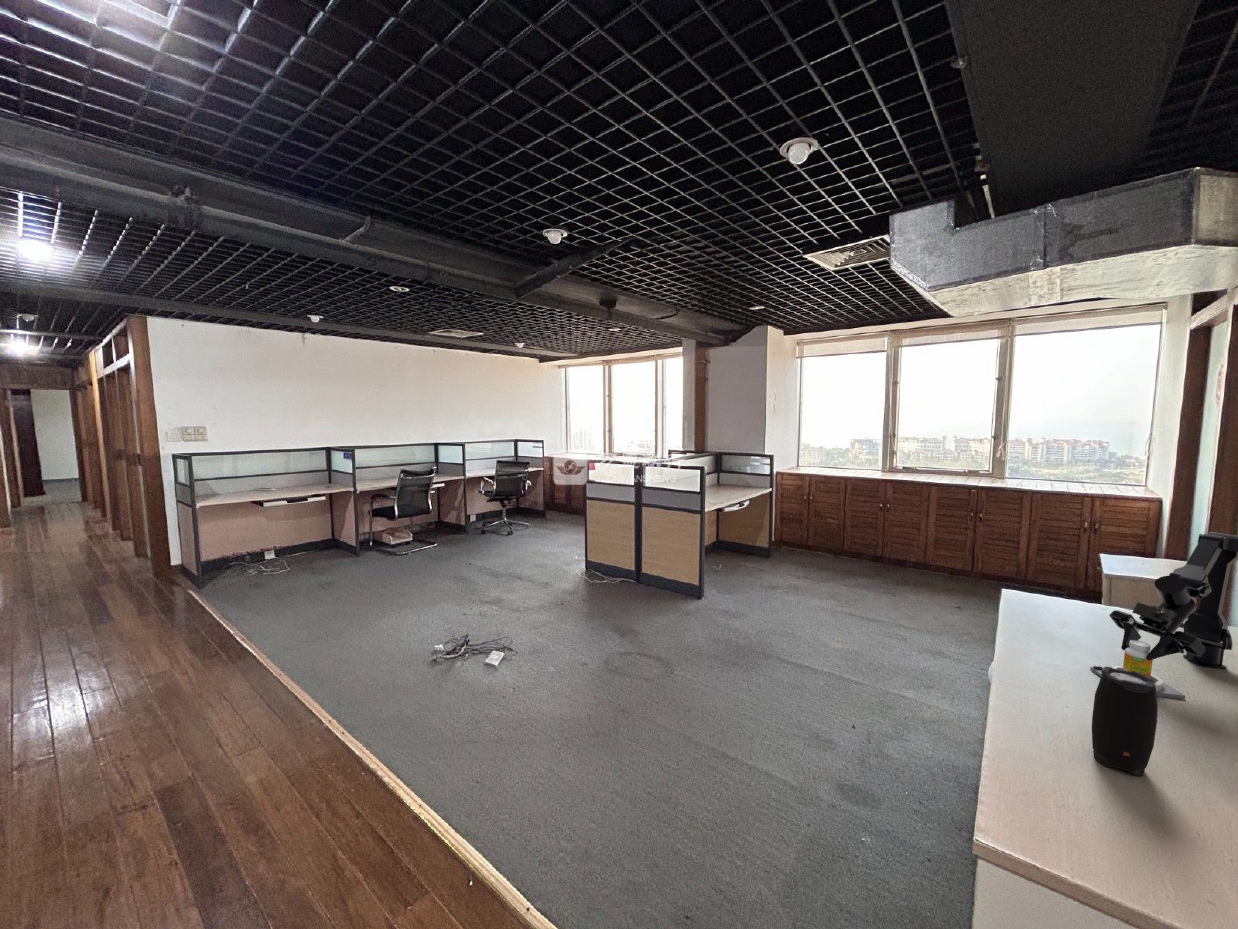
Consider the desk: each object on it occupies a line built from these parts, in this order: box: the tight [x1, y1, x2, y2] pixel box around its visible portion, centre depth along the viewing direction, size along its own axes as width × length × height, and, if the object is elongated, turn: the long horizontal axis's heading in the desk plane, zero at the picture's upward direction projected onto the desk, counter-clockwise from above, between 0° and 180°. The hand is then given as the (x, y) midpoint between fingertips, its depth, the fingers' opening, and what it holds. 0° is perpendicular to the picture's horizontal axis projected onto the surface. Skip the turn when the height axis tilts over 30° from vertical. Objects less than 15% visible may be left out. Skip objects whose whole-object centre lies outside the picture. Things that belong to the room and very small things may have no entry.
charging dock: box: [1089, 665, 1186, 700], centre depth 138 cm, size 14×12×2 cm
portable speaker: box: [1091, 666, 1159, 777], centre depth 104 cm, size 9×9×20 cm
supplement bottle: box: [1122, 640, 1154, 678], centre depth 137 cm, size 5×5×10 cm
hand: (1134, 654), depth 137 cm, fingers closed on supplement bottle, 5 cm apart
